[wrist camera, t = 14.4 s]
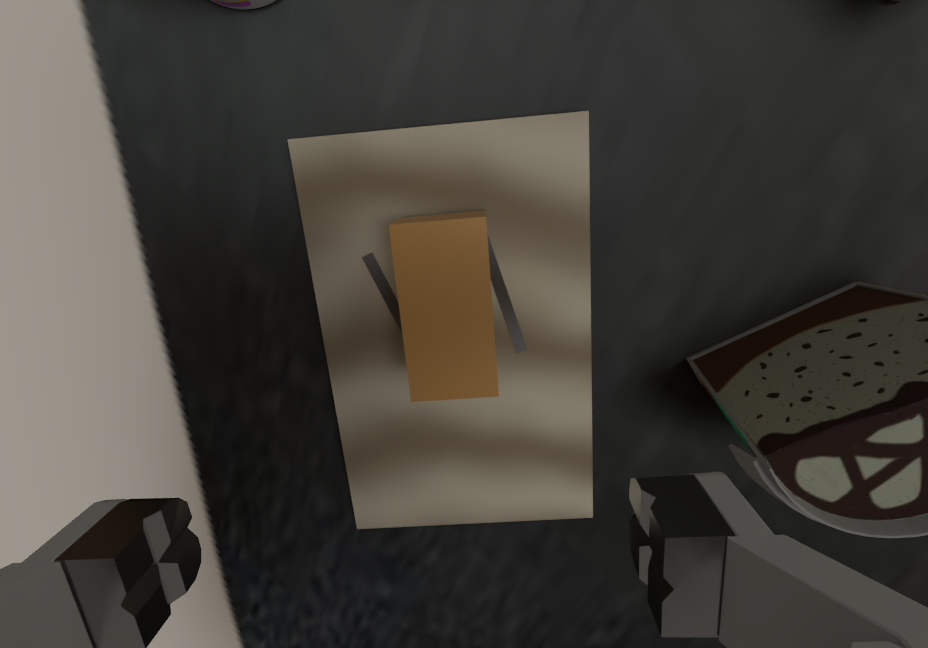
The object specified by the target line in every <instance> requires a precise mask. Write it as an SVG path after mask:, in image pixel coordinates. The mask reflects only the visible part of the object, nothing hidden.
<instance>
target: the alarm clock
mask: <svg viewBox="0 0 928 648" xmlns="http://www.w3.org/2000/svg"><path fill="white" fill-rule="evenodd" d="M900 1H901V0H886V2H887V3H888V4H892V5H893V4H896V3H898V2H900Z"/></svg>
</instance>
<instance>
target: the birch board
mask: <svg viewBox="0 0 928 648" xmlns="http://www.w3.org/2000/svg"><path fill="white" fill-rule="evenodd" d="M287 140H288V145H289V151H290V156H291V162H292V168H293V173H294V179H295V184H296V190H297V196H298V201H299V207H300V212H301V218H302V224H303V229H304V235H305V240H306V246H307V252H308V257H309V263H310V268H311V274H312V280H313V285H314V291H315V296H316V302H317V308H318V313H319V319H320V324H321V330H322V336H323V341H324V347H325V352H326V358H327V364H328V369H329V375H330V380H331V386H332V392H333V397H334V403H335V408H336V414H337V420H338V425H339V431H340V436H341V442H342V448H343V453H344V459H345V464H346V470H347V476H348V481H349V487H350V492H351V498H352V504H353V509H354V515H355V520H356V526H357V529H368V528H388V527H409V526H429V525H449V524H469V523H490V522H510V521H530V520H550V519H571V518H591V517H593V475H592V379H591V283H590V187H589V111H582V112H572V113H561V114H550V115H540V116H529V117H519V118H508V119H498V120H487V121H477V122H466V123H456V124H445V125H435V126H424V127H414V128H403V129H393V130H382V131H372V132H361V133H350V134H340V135H329V136H319V137H308V138H298V139H287ZM483 209H485V212H486V222H487V236H488V250H489V264H490V278H491V293H492V307H493V321H494V335H495V349H496V363H497V377H498V391H499V397H484V398H468V399H452V400H437V401H421V402H411V396H410V388H409V381H408V373H407V365H406V357H405V350H404V342H403V334H402V326H401V318H400V311H399V303H398V295H397V287H396V280H395V272H394V264H393V256H392V249H391V241H390V233H389V224H391V223H392V222H394V221H396V220H398V219H399V218H401V217H403V216H412V215H424V214H436V213H448V212H459V211H471V210H483Z"/></svg>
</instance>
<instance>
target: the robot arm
mask: <svg viewBox="0 0 928 648" xmlns="http://www.w3.org/2000/svg"><path fill="white" fill-rule="evenodd" d="M629 499H630V501H631V504H632V506H633V509H634V511H635V514H634V515H633V516H632V517H631V519H630V520H629V538H630V546H631V554H632V558H633V561H634V565H635V568H636V571H637V574H638V577H639V579H640V580H642V581H643V582H644V583H646V584H647V585H648V600H647V601H648V603H649V606H650V609H651V611H652V614H653V616H654V619H655V622H656V624H657V627H658V629H659V632H660V635H661V637H719V641H720V642H721V643H722V644H724V645H725V646H726V647H727V648H928V608H927V607H925V606H923V605H921V604H919V603H917V602H915V601H913V600H911V599H909V598H907V597H905V596H903V595H901V594H899V593H897V592H895V591H893V590H892V589H890V588H888V587H886V586H884V585H882V584H880V583H878V582H876V581H874V580H872V579H870V578H868V577H866V576H864V575H862V574H860V573H858V572H856V571H854V570H852V569H850V568H848V567H846V566H844V565H842V564H841V563H839V562H837V561H835V560H833V559H831V558H829V557H827V556H825V555H823V554H821V553H819V552H817V551H815V550H813V549H811V548H809V547H807V546H805V545H803V544H801V543H799V542H797V541H795V540H793V539H792V538H790V537H788V536H786V535H774V534H773V533H772V531H771V530H770V529H769V528H768V526H767V525H766V524H765V523H764V522H763V520H762V519H761V518H760V517H759V515H758V514H757V513H756V512H755V510H754V509H753V508H752V507H751V505H750V504H749V503H748V502H747V501H746V499H745V498H744V497H743V496H742V494H741V493H740V492H739V491H738V489H737V488H736V487H735V486H734V484H733V483H732V482H731V481H730V480H729V478H728V477H727V476H726V475H725V474H723V473H721V472H709V473H696V474H690V475H676V476H659V477H643V478H631V482H630V492H629ZM191 519H192V515H191V512H190V509H189V506H188V504H187V502H186V501H184V500H182V499H180V498H153V499H129V500H127V499H117V500H104V501H100V502H96V503H94V504H92V505H91V506H90V507H89V508H88V509H86V510H85V511H84V512H83V513H81V514H80V515H79V516H78V517H77V518H75V519H74V520H73V521H72V522H71V523H69V524H68V525H67V526H66V527H64V528H63V529H62V530H61V531H60V532H58V533H57V534H56V535H55V536H53V538H51V539H50V540H49V541H47V542H46V543H45V544H44V545H43V546H41V547H40V548H39V549H38V550H37V551H35V552H34V553H33V554H32V555H30V556H29V557H28V558H27V559H25V560H24V561H23V562H22V563H12V564H10V565H8V566H6V567H4V568H2V569H0V648H147V646H148V645H149V643H150V642H151V641H152V639H153V638H154V637H155V635H156V634H157V633H158V631H159V630H160V628H161V627H162V626H163V624H164V623H165V622H166V620H167V619H168V617H169V616H170V615H171V609H170V604H171V603H172V602H173V601H175V600H176V599H178V598H179V597H181V596H182V595H184V594H185V593H186V592H187V591H188V590H189V588H190V586H191V585H192V584H193V582H194V581H195V579H196V576H197V573H198V570H199V567H200V564H201V547H200V543H199V540H198V537H197V536H196V535H195V534H194V533H193V532H191V531H190V530H189V529H188V528H187V527H188V525H189V523H190V521H191Z"/></svg>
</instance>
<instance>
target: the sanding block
mask: <svg viewBox="0 0 928 648" xmlns="http://www.w3.org/2000/svg"><path fill="white" fill-rule="evenodd" d="M389 233H390V241H391V249H392V256H393V264H394V272H395V280H396V287H397V295H398V303H399V311H400V318H401V326H402V334H403V342H404V350H405V357H406V365H407V373H408V381H409V388H410V396H411V402H421V401H437V400H452V399H468V398H484V397H499V391H498V377H497V363H496V349H495V335H494V321H493V307H492V293H491V278H490V264H489V250H488V236H487V222H486V212H485V209H483V210H471V211H459V212H448V213H436V214H424V215H412V216H403V217H401V218H399V219H398V220H396V221H394V222H392V223H391V224H389Z"/></svg>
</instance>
